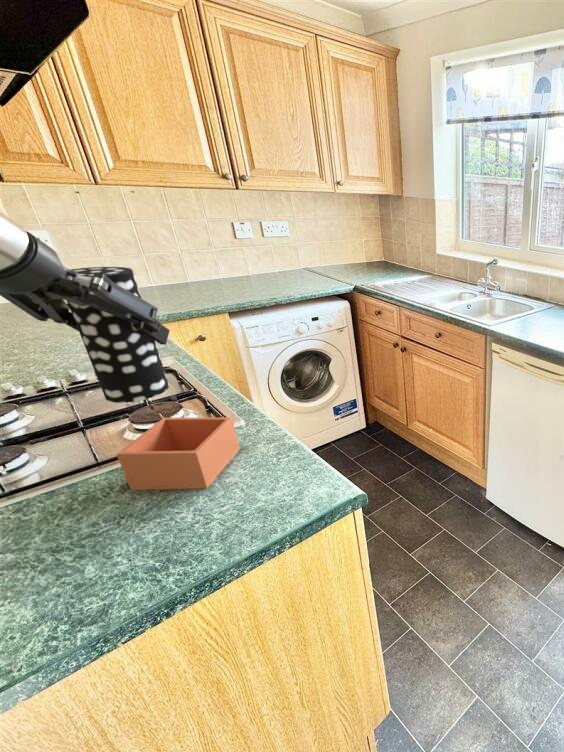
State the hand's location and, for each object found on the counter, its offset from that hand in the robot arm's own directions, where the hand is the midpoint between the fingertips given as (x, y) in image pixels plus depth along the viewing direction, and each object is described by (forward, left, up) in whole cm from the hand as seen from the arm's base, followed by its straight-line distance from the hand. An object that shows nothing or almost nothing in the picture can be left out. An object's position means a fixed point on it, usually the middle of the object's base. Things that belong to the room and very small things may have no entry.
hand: (135, 336), depth 70 cm
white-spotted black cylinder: (+1, -3, -9) cm, 9 cm away
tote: (+2, 0, -27) cm, 27 cm away
